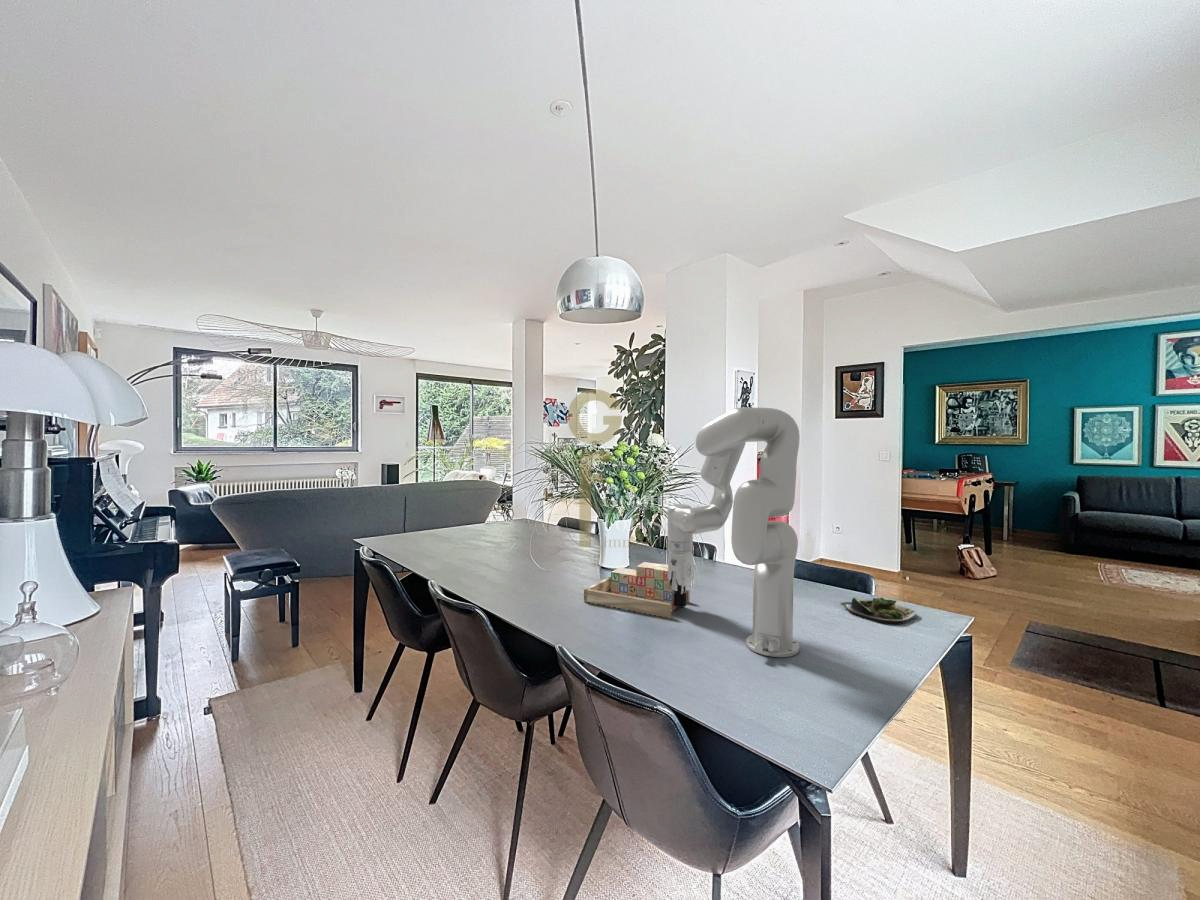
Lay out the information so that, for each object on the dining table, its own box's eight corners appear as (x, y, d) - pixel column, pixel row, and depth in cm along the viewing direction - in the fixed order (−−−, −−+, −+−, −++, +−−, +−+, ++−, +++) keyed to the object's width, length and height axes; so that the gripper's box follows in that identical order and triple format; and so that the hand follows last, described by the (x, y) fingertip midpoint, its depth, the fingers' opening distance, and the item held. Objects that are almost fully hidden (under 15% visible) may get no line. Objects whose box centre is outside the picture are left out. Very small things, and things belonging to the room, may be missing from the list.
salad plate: (869, 599, 166) (869, 585, 166) (928, 615, 152) (929, 600, 151) (833, 610, 156) (834, 595, 156) (894, 629, 141) (894, 613, 141)
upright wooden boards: (669, 618, 149) (669, 604, 149) (583, 602, 164) (583, 589, 164) (689, 602, 163) (689, 589, 163) (609, 588, 178) (609, 576, 178)
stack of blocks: (610, 600, 166) (610, 562, 165) (619, 594, 171) (619, 558, 171) (672, 611, 155) (672, 571, 154) (680, 605, 160) (680, 566, 160)
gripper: (682, 552, 147) (682, 615, 148) (700, 542, 160) (700, 600, 161) (658, 549, 151) (658, 611, 152) (677, 540, 164) (677, 597, 164)
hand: (680, 605), depth 156 cm, fingers closed
